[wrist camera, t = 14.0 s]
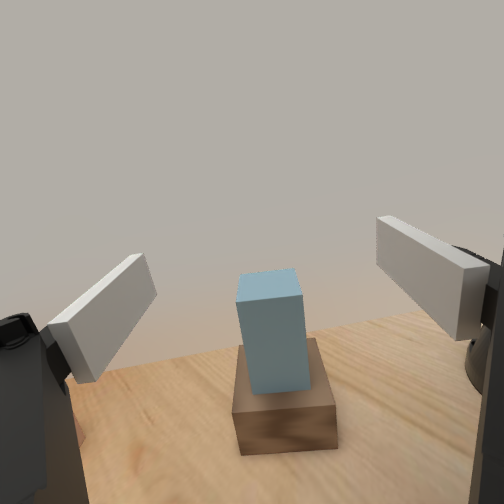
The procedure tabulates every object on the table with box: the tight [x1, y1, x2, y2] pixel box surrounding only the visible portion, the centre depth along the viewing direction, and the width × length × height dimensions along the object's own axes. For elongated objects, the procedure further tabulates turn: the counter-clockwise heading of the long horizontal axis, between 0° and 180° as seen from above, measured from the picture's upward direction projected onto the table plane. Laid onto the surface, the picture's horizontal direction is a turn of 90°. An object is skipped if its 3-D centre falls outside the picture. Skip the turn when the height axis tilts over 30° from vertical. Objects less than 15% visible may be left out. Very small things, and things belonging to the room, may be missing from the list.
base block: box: [232, 338, 338, 455], centre depth 32 cm, size 10×10×6 cm
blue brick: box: [236, 268, 311, 395], centre depth 29 cm, size 6×6×11 cm
